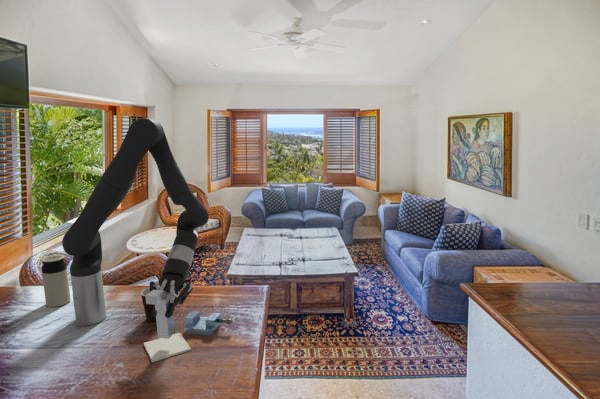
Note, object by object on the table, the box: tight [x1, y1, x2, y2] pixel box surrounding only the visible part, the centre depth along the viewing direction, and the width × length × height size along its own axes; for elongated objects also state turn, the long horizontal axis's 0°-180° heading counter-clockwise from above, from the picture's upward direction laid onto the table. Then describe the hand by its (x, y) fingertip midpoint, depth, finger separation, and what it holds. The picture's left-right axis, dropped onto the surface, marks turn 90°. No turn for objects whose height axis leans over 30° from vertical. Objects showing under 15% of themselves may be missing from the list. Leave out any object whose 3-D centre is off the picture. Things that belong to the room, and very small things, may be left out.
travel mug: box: [40, 254, 72, 308], centre depth 148 cm, size 8×8×18 cm
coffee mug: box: [140, 285, 160, 324], centre depth 137 cm, size 12×9×10 cm
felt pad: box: [143, 332, 192, 363], centre depth 118 cm, size 11×11×1 cm
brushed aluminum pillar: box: [145, 290, 176, 339], centre depth 115 cm, size 8×4×15 cm, turn 168°
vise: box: [183, 310, 233, 337], centre depth 129 cm, size 8×15×4 cm, turn 78°
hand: (161, 316), depth 115 cm, fingers closed on brushed aluminum pillar, 3 cm apart
